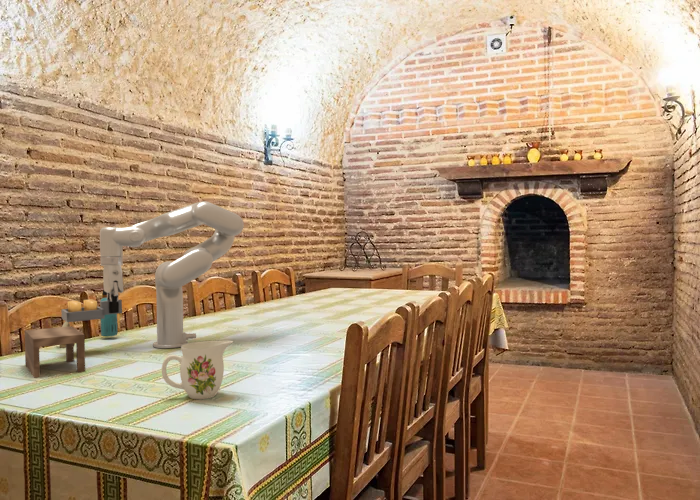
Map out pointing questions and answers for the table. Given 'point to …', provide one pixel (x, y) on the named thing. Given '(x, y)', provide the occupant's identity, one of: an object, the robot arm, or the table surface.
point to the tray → (91, 313)
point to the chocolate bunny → (66, 324)
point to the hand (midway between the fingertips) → (113, 312)
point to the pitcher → (199, 368)
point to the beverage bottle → (109, 323)
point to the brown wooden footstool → (50, 338)
